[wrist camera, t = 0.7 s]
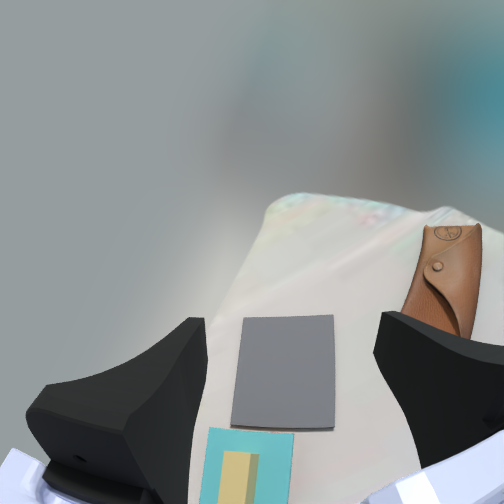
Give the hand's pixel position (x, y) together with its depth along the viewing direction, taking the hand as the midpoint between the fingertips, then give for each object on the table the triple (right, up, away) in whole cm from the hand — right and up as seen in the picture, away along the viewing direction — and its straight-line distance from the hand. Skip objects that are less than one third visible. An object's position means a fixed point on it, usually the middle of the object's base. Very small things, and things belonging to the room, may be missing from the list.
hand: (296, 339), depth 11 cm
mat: (+1, -7, +14) cm, 16 cm away
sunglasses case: (+19, -1, +15) cm, 24 cm away
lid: (-2, -14, +6) cm, 15 cm away
